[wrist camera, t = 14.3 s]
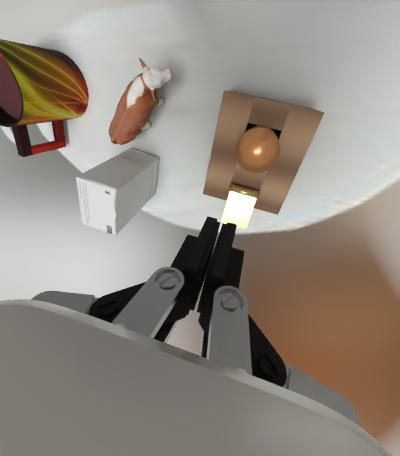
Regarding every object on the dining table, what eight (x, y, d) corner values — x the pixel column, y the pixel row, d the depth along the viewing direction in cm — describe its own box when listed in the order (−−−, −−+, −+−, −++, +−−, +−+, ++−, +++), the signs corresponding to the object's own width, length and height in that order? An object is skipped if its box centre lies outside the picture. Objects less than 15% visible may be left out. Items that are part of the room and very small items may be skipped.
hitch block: (230, 91, 30) (224, 90, 25) (313, 109, 29) (324, 112, 24) (210, 181, 38) (203, 193, 33) (275, 198, 37) (277, 214, 32)
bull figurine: (189, 81, 31) (169, 77, 24) (139, 144, 38) (113, 154, 31) (168, 54, 30) (141, 42, 23) (121, 124, 37) (89, 130, 30)
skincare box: (132, 147, 39) (71, 171, 26) (162, 157, 38) (115, 187, 26) (129, 187, 43) (77, 223, 31) (156, 197, 43) (114, 237, 31)
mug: (67, 145, 42) (7, 161, 32) (27, 59, 35) (-65, 46, 25) (106, 138, 39) (54, 153, 29) (71, 43, 32) (-13, 20, 22)
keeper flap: (230, 182, 31) (230, 184, 30) (260, 190, 31) (260, 192, 30) (220, 218, 34) (219, 221, 33) (247, 226, 33) (247, 229, 32)
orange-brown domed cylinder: (246, 117, 31) (242, 124, 24) (281, 125, 30) (287, 134, 24) (237, 152, 34) (230, 167, 27) (269, 160, 33) (270, 177, 26)
